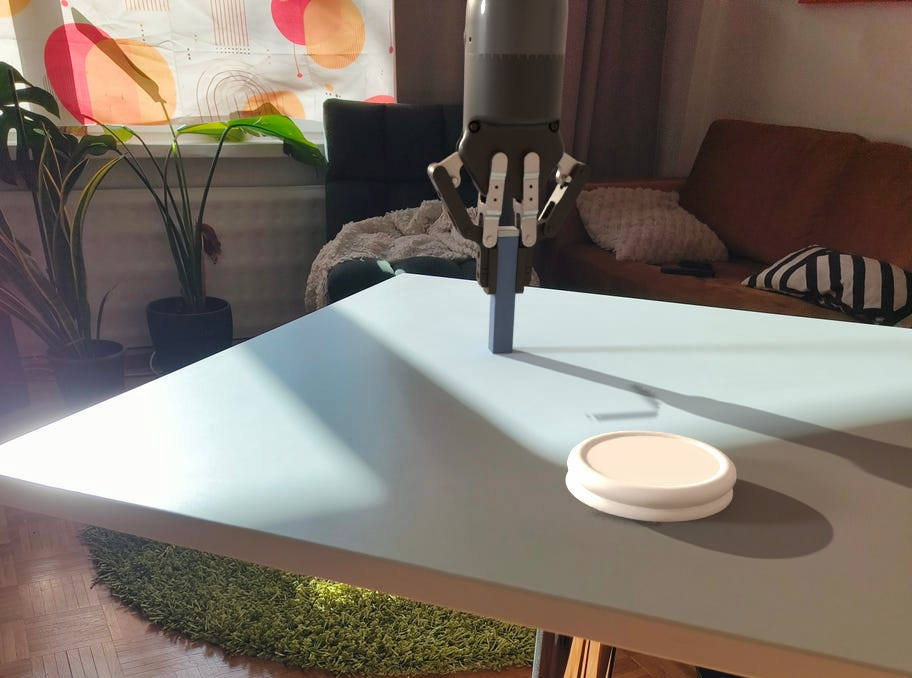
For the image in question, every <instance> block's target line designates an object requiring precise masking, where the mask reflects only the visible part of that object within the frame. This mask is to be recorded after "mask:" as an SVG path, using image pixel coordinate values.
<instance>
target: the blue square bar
mask: <svg viewBox="0 0 912 678" xmlns="http://www.w3.org/2000/svg"><path fill="white" fill-rule="evenodd" d="M518 236H519V230H518V229H517V228H515V225H514V226H513V225H511V226H510V225H509V226H504V225H503V226H498V235H497V242H496V244H495V247H497V248H498V269H497V291H496V294H495V295H489V321H488V345H487V349H488V351H490V353H492V355H495V354H496V355H497V354H498V355H499V354H512V353H513V349H514V348H513V346H514V332H515V331H514V330H515V329H514V327H515V311H516V308H515V307H516V295H517V294H515V290H516V272H517V254H518V242H519V237H518Z"/></svg>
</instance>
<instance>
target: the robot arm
mask: <svg viewBox="0 0 912 678" xmlns="http://www.w3.org/2000/svg"><path fill="white" fill-rule="evenodd" d="M465 8H466V9H465V24H464V25H465V28H464V31H463V46H464V71H463V72H464V76H463V77H464V79H463V114H462V115H463V118H462V119H463V120H462V124H463V125H462V126H463V127H462V130H461V134H460V137H459V139H458V141H457V142H456V146H455V152H453V153H452V154H451V155H449V156H447V157H446V158H445V159H443V160H441V161H440V162H432V163H430V164H429V165H428V167H427V175H428V177H429V179H430V182H431V183H432V186H433V188H434V189H435V192H437V196H438V197H439V199H440V201H441V203H442V205H443V207H444V210H445V211H446V214H447V215H448V217H449V219H450V221H451V223H452V225H453V227H454V229H455V232H456V233H458V234H459V236H461V237H462V238H463V239H465V240H468V241H471V242H473V243H475V244H476V268H475V269H476V272H475V274H476V275H475V278H476V282H477V284H478V286H480V287H481V288H482V290H483V292H484V294H486V295H487V296H490V295H495V294H496V291H497V269H498V248H497V247H495V244H496V242H497V235H498V227H499V224H500V218H501V216H502V212H503V211H502V210H503V203H504V202H503V201H504V200H508V199H512V208H513V212H514V227H515V228H517V229H518V230H519V236H518V237H519V242H518V254H517V272H516V290H515V294H516V295H520V294H524V292H525V287H530V284H531V283H532V277H533V276H532V275H533V273H532V272H533V259H534V249H535V246H536V244H537V243H538V242H540V241H543V240H545V239H547V238H549V239H551V238H554V237H556V235H557V234H558V232H559V231H560V229H561V227H562V225H563V224H564V222H565V220H566V218H567V217H568V215H569V214H570V212H571V210H572V209H573V207H574V205H575V203H576V201H577V199H578V198H579V196H580V195H581V193H582V192H583V189H584V187H585V186H586V184H587V182H588V181H589V180H590V177H591V174H592V169H591V167H590V166H589V165H588V164H586V163H583V162H581V161H578V160H576V158H573V157H572V156H571V155H569V154H568V153H567V152H566V151H565V143H564V140H563V138H562V134H561V129H560V128H561V126H560V125H561V117H562V104H563V93H564V92H563V91H564V90H563V88H564V76H565V64H566V53H567V39H568V37H567V36H568V24H569V0H466V7H465ZM462 167H463V169H464V170H465V172H466V173H467V176H468V178H470V180H471V182H472V183H473V185H474V187H475V189H476V190H477V191H478V198H477V223H475V222H473V220H472V218H471V216H470V214H469V212H468V210H467V208H466V206H465V204H464V202H463V200H462V197H461V196H460V194H459V192H458V190H457V188H458V187H459V186H460V184H461V181H462V178H461V174H460V170H461V168H462ZM556 168H557V171H556V174H555V181H556V183H557V185H556V186H555V189H554V190H553V192H552V194H551V196H550V197H549V199H548V201H547V202H546V204H545V206H544V208H543V210H542V212H541V213H540V215H539V217H538V214H539V193H540V191H541V189H542V188H543V187H544V185H545V183H546V182H547V181H548V179H549V178H550V176H551V175H552V173H553V172H554V170H555V169H556Z"/></svg>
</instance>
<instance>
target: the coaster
mask: <svg viewBox="0 0 912 678" xmlns="http://www.w3.org/2000/svg"><path fill="white" fill-rule="evenodd" d="M567 470H568V471H567V473H566V477H565V484H566V487H567V489H568V491H569V492H570V493H571V494H572V495H573V496H574V498H575V499H577V500H579V501H580V502H581V503H583V504H586V505H587V506H589V507H591V508H594V509H595V510H597V511H600V512H603V513H606V514H610V515H613V516H617V517H621V518H625V519H629V520H635V521H636V520H637V521H644V522H655V523H656V522H658V523H660V522H661V523H675V522H688V521H694V520H700V519H703V518H707V517H711V516H713V515H715V514H717V513H720V512H721V511H723V510H724V509H726V508H727V507H728V506H729V505H730V504H731V502H732V500H733V498H734V497H733V496H734V491H733V489H734V488H733V487H734V486H735V484H736V482H737V477H738V476H737V469H736V466H735V464H734V462H733V461H732V459H730V458H729V456H728V455H726V454H725V453H724V452H723V451H721V450H720V449H718V448H717V447H715V446H713V445H711V444H708V443H706V442H705V441H702V440H699V439H695V438H691V437H689V436H684V435H680V434H676V433H670V432H669V433H668V432H661V431H653V430H652V431H651V430H620V431H612V432H607V433H601V434H598V435H595V436H591V437H589V438H587V439H584V440H583V441H581V442H580V443H579V444H577V445H575V446H574V447H573V449H572V450H571V451H570V454H569V455H568V458H567Z"/></svg>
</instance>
